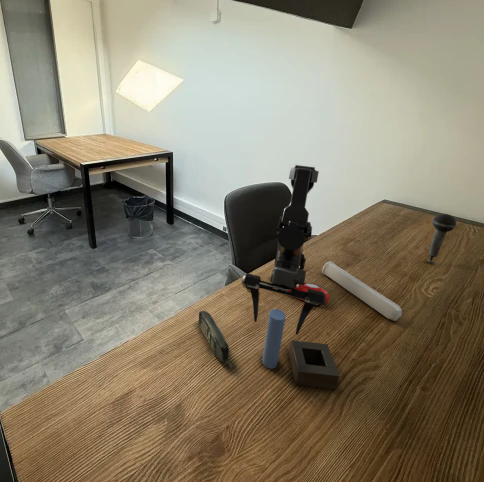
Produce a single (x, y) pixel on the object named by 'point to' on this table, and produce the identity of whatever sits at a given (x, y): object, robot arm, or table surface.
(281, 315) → the peg
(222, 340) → the mobile phone
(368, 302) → the tube
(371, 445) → the table surface
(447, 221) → the microphone
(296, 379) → the stand
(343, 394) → the table surface
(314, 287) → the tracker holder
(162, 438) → the table surface
